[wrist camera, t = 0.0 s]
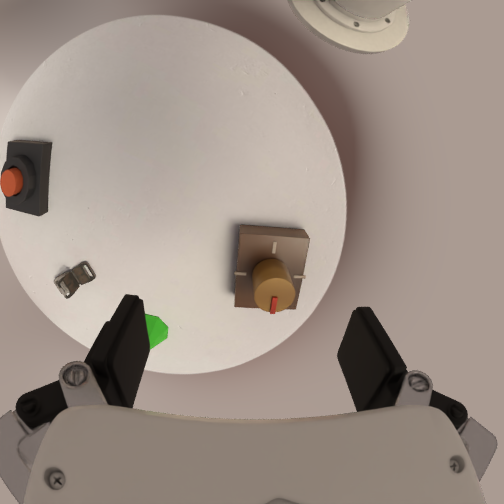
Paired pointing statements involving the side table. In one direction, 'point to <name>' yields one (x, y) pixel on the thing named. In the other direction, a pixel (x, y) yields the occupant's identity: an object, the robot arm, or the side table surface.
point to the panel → (268, 247)
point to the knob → (272, 286)
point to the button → (11, 181)
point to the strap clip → (73, 279)
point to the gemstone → (155, 330)
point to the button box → (30, 175)
